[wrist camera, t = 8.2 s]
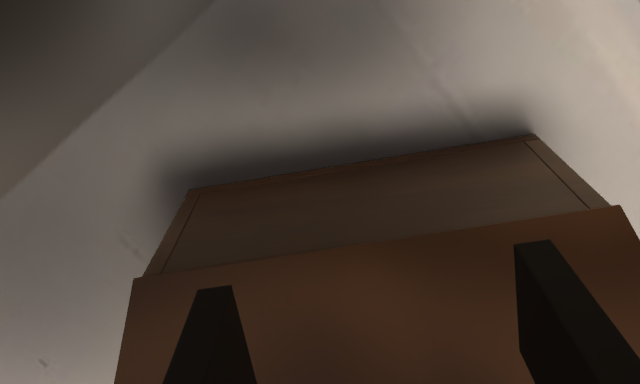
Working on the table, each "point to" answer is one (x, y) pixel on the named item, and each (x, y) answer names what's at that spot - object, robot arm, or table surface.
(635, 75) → the table surface
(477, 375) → the lid
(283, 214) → the chest
